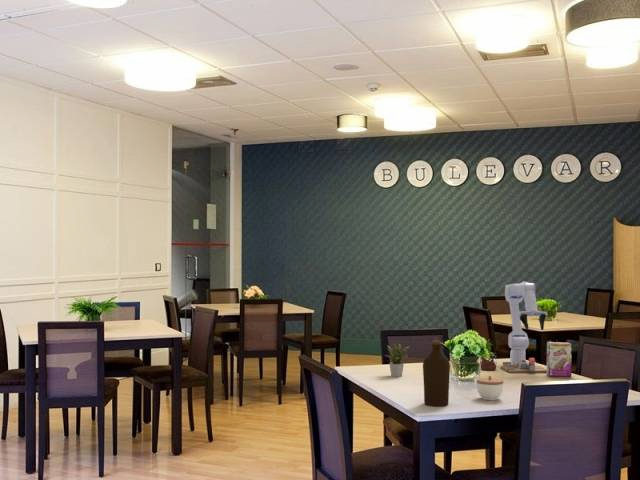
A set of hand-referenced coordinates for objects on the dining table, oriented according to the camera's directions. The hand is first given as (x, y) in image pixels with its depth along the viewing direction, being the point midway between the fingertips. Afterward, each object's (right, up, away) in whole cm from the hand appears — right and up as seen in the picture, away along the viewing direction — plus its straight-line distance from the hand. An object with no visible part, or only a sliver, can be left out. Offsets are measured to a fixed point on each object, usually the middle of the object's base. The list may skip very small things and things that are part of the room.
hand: (534, 329), depth 353 cm
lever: (-2, -21, +9) cm, 23 cm away
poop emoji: (-20, -23, +14) cm, 34 cm away
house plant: (-70, -22, -10) cm, 74 cm away
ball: (-6, -22, +12) cm, 25 cm away
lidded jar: (-38, -21, -63) cm, 76 cm away
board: (-2, -23, +11) cm, 25 cm away
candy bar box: (+10, -23, -5) cm, 25 cm away
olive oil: (-61, -20, -74) cm, 99 cm away
